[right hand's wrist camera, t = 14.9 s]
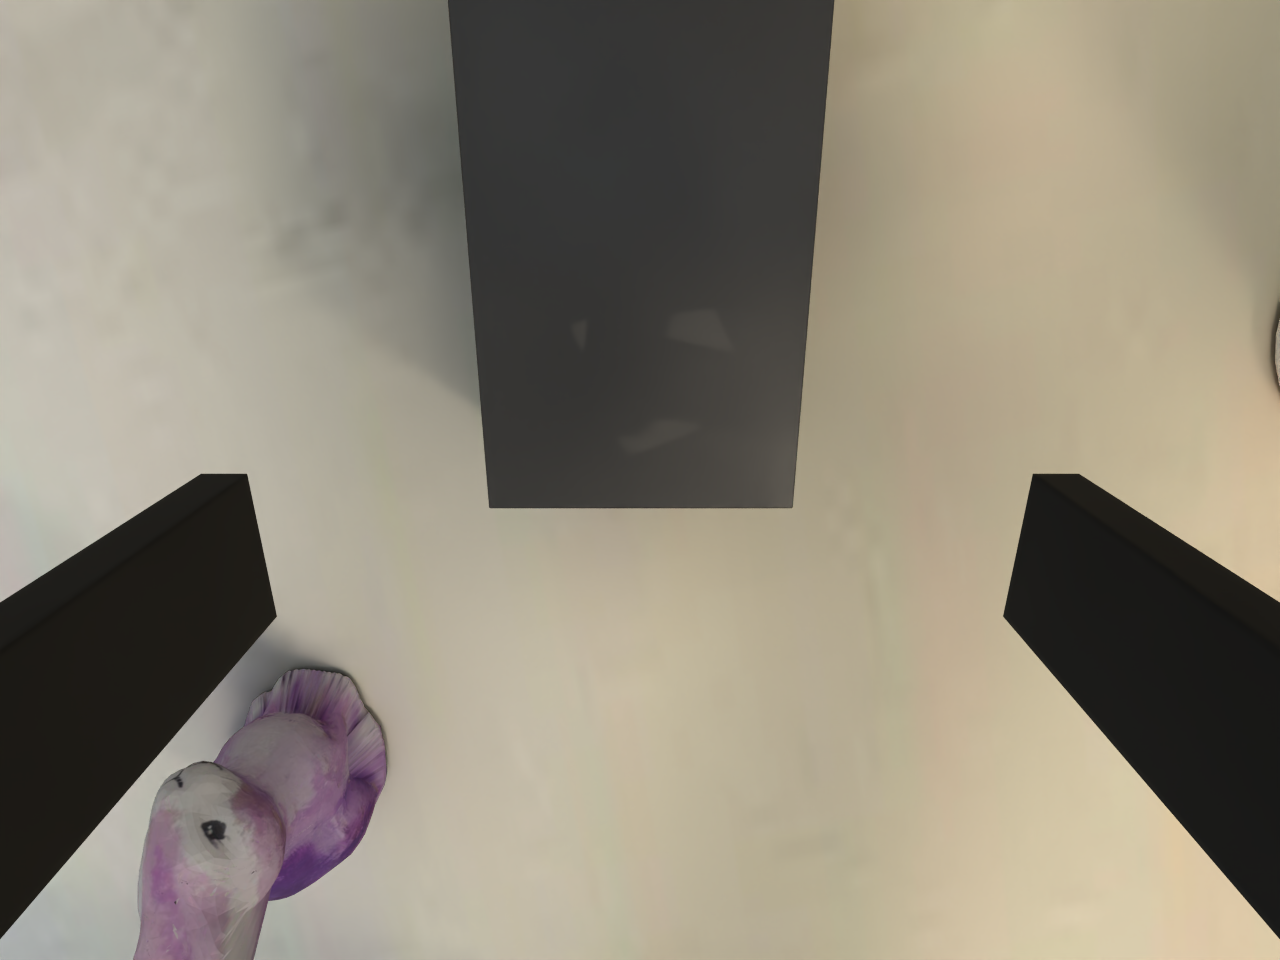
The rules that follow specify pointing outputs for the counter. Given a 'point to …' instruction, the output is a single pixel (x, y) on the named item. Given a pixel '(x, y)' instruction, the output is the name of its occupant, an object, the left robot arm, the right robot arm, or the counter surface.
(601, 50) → the cabinet
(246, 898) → the figurine
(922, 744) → the counter surface
